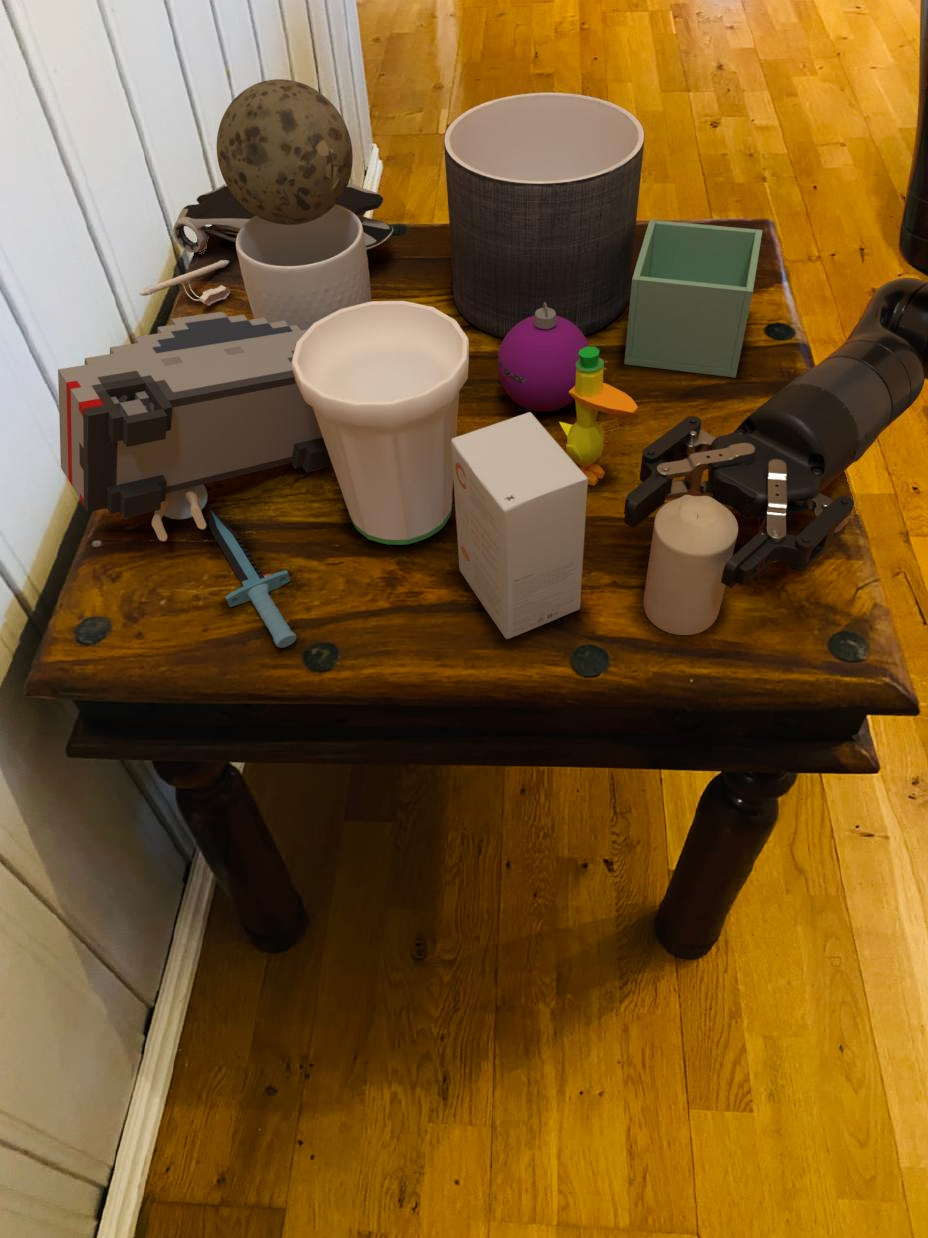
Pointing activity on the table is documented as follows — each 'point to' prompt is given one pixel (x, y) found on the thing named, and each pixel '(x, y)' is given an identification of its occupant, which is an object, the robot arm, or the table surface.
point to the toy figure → (592, 412)
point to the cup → (387, 411)
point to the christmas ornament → (541, 360)
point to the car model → (233, 215)
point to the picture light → (206, 298)
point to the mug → (304, 267)
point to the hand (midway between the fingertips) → (676, 545)
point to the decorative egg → (284, 152)
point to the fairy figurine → (181, 508)
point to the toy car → (184, 412)
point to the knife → (252, 581)
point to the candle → (688, 564)
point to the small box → (519, 522)
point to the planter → (543, 209)
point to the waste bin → (691, 297)
